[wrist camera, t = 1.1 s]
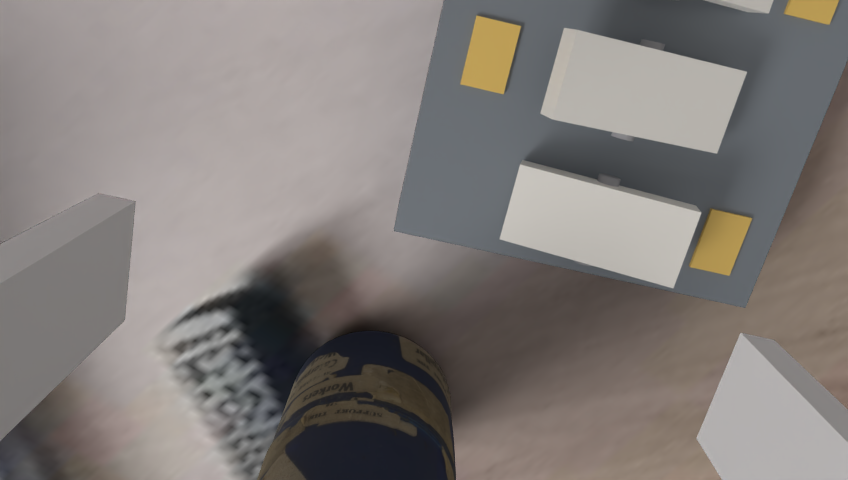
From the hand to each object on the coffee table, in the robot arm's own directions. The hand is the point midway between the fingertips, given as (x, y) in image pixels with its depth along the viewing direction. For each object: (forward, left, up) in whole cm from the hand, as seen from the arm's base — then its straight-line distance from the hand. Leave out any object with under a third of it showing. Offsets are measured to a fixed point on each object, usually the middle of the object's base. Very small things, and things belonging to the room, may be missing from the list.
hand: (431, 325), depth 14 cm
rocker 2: (+8, -1, -17) cm, 18 cm away
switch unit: (+8, +5, -23) cm, 25 cm away
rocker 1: (+8, +5, -17) cm, 19 cm away
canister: (0, -16, -23) cm, 28 cm away
